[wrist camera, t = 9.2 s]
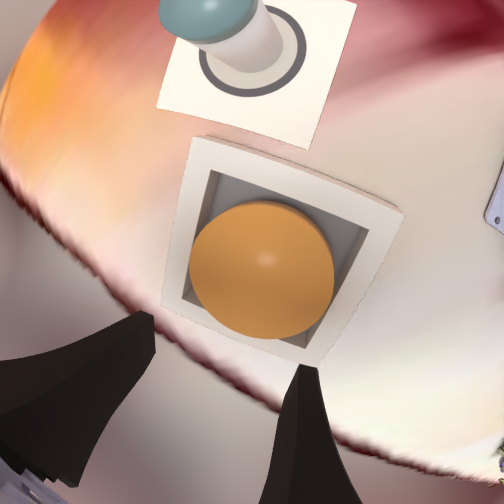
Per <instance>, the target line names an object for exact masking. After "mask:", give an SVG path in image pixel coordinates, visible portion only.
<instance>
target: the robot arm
mask: <svg viewBox="0 0 504 504" xmlns="http://www.w3.org/2000/svg"><path fill="white" fill-rule="evenodd" d="M496 217H497V218H498V219H497V221H496V222H495V218H496ZM485 219H486V221H487V223H489V224H490V225H492V226H493V227H495V228H496V229H497V230H499V231H500V232H502V233H503V234H504V166H503V169H502V172H501V175H500V178H499V180H498V183H497V186H496V189H495V191H494V194H493V196H492V199H491V201H490V204H489V206H488V209H487V211H486V214H485ZM155 353H156V350H155V334H154V316H153V315H151V314H148V313H146V312H143V311H141V310H140V311H138V312H136V313H134V314H132V315H130V316H128V317H126V318H124V319H122V320H120V321H118V322H116V323H114V324H112V325H111V326H108V327H107V328H105V329H102V330H100V331H98V332H96V333H94V334H92V335H90V336H88V337H85V338H83V339H81V340H78V341H76V342H74V343H72V344H69V345H66V346H64V347H61V348H58V349H55V350H52V351H48V352H45V353H42V354H37V355H33V356H28V357H24V358H18V359H12V360H3V361H0V504H46V503H47V504H71V503H70V502H68V501H67V500H65V499H64V498H63V497H61V496H60V495H59V494H57V493H56V492H55V491H54V490H52V489H51V488H50V487H49V486H47V485H46V484H45V483H44V480H45V479H46V478H48V479H49V480H50V481H52V482H53V483H54V482H55V481H56V479H57V478H58V479H59V480H60V481H62V482H63V483H64V484H66V485H67V486H68V487H71V488H74V487H78V485H79V482H80V479H81V477H82V474H83V472H84V469H85V466H86V464H87V462H88V460H89V458H90V455H91V453H92V451H93V449H94V447H95V445H96V443H97V441H98V439H99V437H100V435H101V434H102V432H103V430H104V428H105V427H106V425H107V423H108V421H109V420H110V418H111V416H112V415H113V413H114V412H115V410H116V409H117V408H118V406H119V405H120V404H121V402H122V401H123V400H124V398H125V397H126V396H127V395H128V393H129V392H130V391H131V389H132V388H133V387H134V385H135V384H136V383H137V382H138V380H139V379H140V378H141V376H142V375H143V374H144V372H145V370H146V369H147V367H148V365H149V364H150V362H151V360H152V358H153V356H154V354H155ZM30 490H31V491H33V492H34V493H35V494H36V495H37V496H38V497H39V498H41V499H42V500H43V501H44V502H43V501H42V500H40V499H39V498H37V497H36V496H34V495H33V494H31V493H30ZM259 504H363V503H362V502H361V500H360V498H359V496H358V494H357V492H356V491H355V489H354V487H353V485H352V484H351V481H350V479H349V477H348V474H347V472H346V470H345V468H344V465H343V463H342V460H341V458H340V455H339V453H338V450H337V447H336V444H335V441H334V438H333V435H332V432H331V428H330V425H329V421H328V417H327V414H326V410H325V406H324V401H323V397H322V392H321V387H320V381H319V374H318V369H317V368H316V367H312V366H308V365H304V364H299V366H298V368H297V371H296V373H295V375H294V377H293V379H292V382H291V384H290V386H289V388H288V390H287V392H286V394H285V397H284V400H283V404H282V407H281V411H280V415H279V418H278V423H277V429H276V435H275V440H274V446H273V452H272V457H271V462H270V467H269V472H268V476H267V480H266V483H265V486H264V489H263V492H262V495H261V498H260V501H259Z"/></svg>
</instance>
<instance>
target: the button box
mask: <svg viewBox="0 0 504 504" xmlns="http://www.w3.org/2000/svg"><path fill="white" fill-rule="evenodd" d="M256 200H266V201H274V202H279V203H282V204H285V205H288V206H290V207H293V208H295V209H297V210H298V211H300V212H302V213H303V214H305V215H306V216H307V217H309V218H310V219H311V220H312V221H313V222H314V223H315V224H316V225H317V226H318V227H319V228H320V230H321V231H322V233H323V234H324V236H325V237H326V239H327V241H328V243H329V246H330V249H331V252H332V256H333V262H334V288H333V294H332V297H331V301H330V303H329V305H328V307H327V309H326V311H325V312H324V314H323V315H322V316H321V317H320V319H319V320H318V321H317V322H316V323H314V324H313V325H312V326H311V327H309V328H308V329H306V330H305V331H303V332H301V333H298V334H296V335H293V336H290V337H286V338H281V339H259V338H253V337H249V336H245V335H242V334H240V333H237V332H235V331H233V330H231V329H229V328H227V327H226V326H224V325H223V324H221V323H220V322H219V321H217V320H216V319H215V318H214V317H213V316H212V315H210V313H209V312H208V311H207V310H206V309H205V308H204V306H203V305H202V304H201V302H200V301H199V299H198V297H197V295H196V293H195V291H194V288H193V286H192V282H191V278H190V271H189V261H190V254H191V250H192V247H193V244H194V242H195V240H196V238H197V237H198V235H199V234H200V232H201V231H202V230H203V229H204V227H205V226H206V225H207V224H209V223H210V222H211V221H212V220H214V219H215V218H216V217H217V216H219V215H220V214H221V213H222V212H224V211H225V210H227V209H229V208H230V207H232V206H235V205H237V204H240V203H244V202H248V201H256ZM404 218H405V215H404V214H403V213H402V212H401V210H400V209H399V208H398V207H397V206H395V205H393V204H391V203H389V202H386V201H384V200H382V199H380V198H378V197H376V196H373V195H371V194H369V193H367V192H365V191H362V190H360V189H358V188H355V187H353V186H351V185H348V184H346V183H344V182H341V181H339V180H336V179H334V178H332V177H329V176H327V175H324V174H322V173H319V172H316V171H314V170H311V169H309V168H306V167H303V166H301V165H298V164H295V163H292V162H290V161H287V160H284V159H281V158H278V157H276V156H273V155H270V154H267V153H264V152H261V151H258V150H255V149H251V148H248V147H245V146H242V145H239V144H235V143H232V142H229V141H225V140H222V139H218V138H215V137H211V136H208V135H205V136H193V138H192V142H191V146H190V150H189V154H188V158H187V163H186V167H185V171H184V175H183V180H182V184H181V189H180V194H179V198H178V203H177V208H176V213H175V218H174V223H173V229H172V234H171V240H170V246H169V252H168V258H167V264H166V270H165V277H164V284H163V291H162V299H161V306H162V307H164V308H166V309H168V310H170V311H172V312H174V313H176V314H179V315H181V316H183V317H185V318H187V319H189V320H191V321H194V322H196V323H198V324H200V325H203V326H205V327H207V328H209V329H212V330H214V331H216V332H219V333H221V334H223V335H226V336H228V337H230V338H233V339H235V340H238V341H240V342H243V343H245V344H248V345H250V346H253V347H255V348H258V349H260V350H263V351H265V352H268V353H271V354H273V355H276V356H279V357H281V358H284V359H287V360H290V361H293V362H295V363H298V364H304V365H308V366H312V367H316V368H317V367H318V366H319V364H320V363H321V362H322V360H323V359H324V357H325V356H326V354H327V353H328V351H329V350H330V348H331V347H332V346H333V344H334V343H335V341H336V340H337V338H338V336H339V335H340V333H341V332H342V330H343V329H344V327H345V326H346V324H347V322H348V321H349V319H350V318H351V316H352V314H353V313H354V311H355V310H356V308H357V306H358V305H359V303H360V301H361V300H362V298H363V296H364V294H365V293H366V291H367V289H368V288H369V286H370V284H371V282H372V280H373V279H374V277H375V275H376V273H377V271H378V270H379V268H380V266H381V264H382V262H383V260H384V258H385V256H386V254H387V253H388V251H389V249H390V247H391V245H392V243H393V241H394V239H395V237H396V235H397V233H398V231H399V228H400V226H401V224H402V222H403V220H404Z"/></svg>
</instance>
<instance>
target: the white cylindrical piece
mask: <svg viewBox="0 0 504 504" xmlns="http://www.w3.org/2000/svg"><path fill="white" fill-rule="evenodd" d="M158 12H159V19H160V22H161V24H162V25H163V27H164V28H165V29H166V30H167V31H168V32H170V33H172V34H173V35H175V36H177V37H179V38H181V39H183V40H185V41H187V42H189V43H191V44H193V45H194V46H196V47H198V48H200V49H202V50H203V51H205V52H207V53H209V54H210V55H212V56H214V57H215V58H217V59H219V60H220V61H222V62H224V63H225V64H227V65H228V66H230V67H232V68H233V69H235V70H237V71H240V72H244V73H256V72H260V71H263V70H266V69H267V68H269V67H271V66H272V65H273V64H274V63H275V62H276V61H277V60H278V59H279V57H280V55H281V53H282V50H283V39H282V36H281V34H280V32H279V30H278V29H277V27H276V25H275V23H274V21H273V19H272V17H271V16H270V14H269V12H268V10H267V9H266V7H265V5H264V3H263V2H262V0H161V1H160V4H159V10H158Z"/></svg>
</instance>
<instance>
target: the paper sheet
mask: <svg viewBox="0 0 504 504" xmlns="http://www.w3.org/2000/svg"><path fill="white" fill-rule="evenodd" d="M262 2H263V3H264V5H265V7H266V9H267V10H268V12H269V14H270V16H271V17H272V19H273V21H274V23H275V25H276V27H277V29H278V30H279V32H280V34H281V36H282V39H283V50H282V53H281V55H280V57H279V59H278V60H277V61H276V62H275V63H274V64H273V65H272V66H271V67H269V68H267V69H266V70H263V71H260V72H256V73H244V72H240V71H237V70H235V69H233V68H232V67H230V66H228V65H227V64H225V63H224V62H222V61H220V60H219V59H217V58H215V57H214V56H212V55H210V54H209V53H207V52H205V51H203V50H202V49H200V48H198V47H196V46H194V45H193V44H191V43H189V42H187V41H185V40H183V39H181V38H179V37H177V40H176V43H175V46H174V49H173V52H172V55H171V58H170V61H169V64H168V68H167V71H166V74H165V78H164V81H163V84H162V88H161V92H160V95H159V99H158V103H157V107H156V108H159V109H165V110H170V111H174V112H179V113H184V114H188V115H192V116H197V117H201V118H205V119H209V120H213V121H217V122H221V123H224V124H228V125H232V126H235V127H239V128H242V129H246V130H249V131H252V132H256V133H259V134H262V135H265V136H268V137H271V138H274V139H278V140H281V141H283V142H286V143H289V144H292V145H295V146H298V147H301V148H303V149H306V150H309V147H310V145H311V142H312V139H313V136H314V133H315V130H316V127H317V125H318V122H319V119H320V116H321V113H322V110H323V107H324V104H325V101H326V98H327V95H328V93H329V90H330V87H331V84H332V81H333V78H334V75H335V72H336V69H337V66H338V63H339V60H340V57H341V54H342V51H343V47H344V44H345V41H346V38H347V35H348V32H349V29H350V26H351V23H352V20H353V16H354V13H355V10H356V7H357V4H354V3H351V2H348V1H344V0H262Z"/></svg>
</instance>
